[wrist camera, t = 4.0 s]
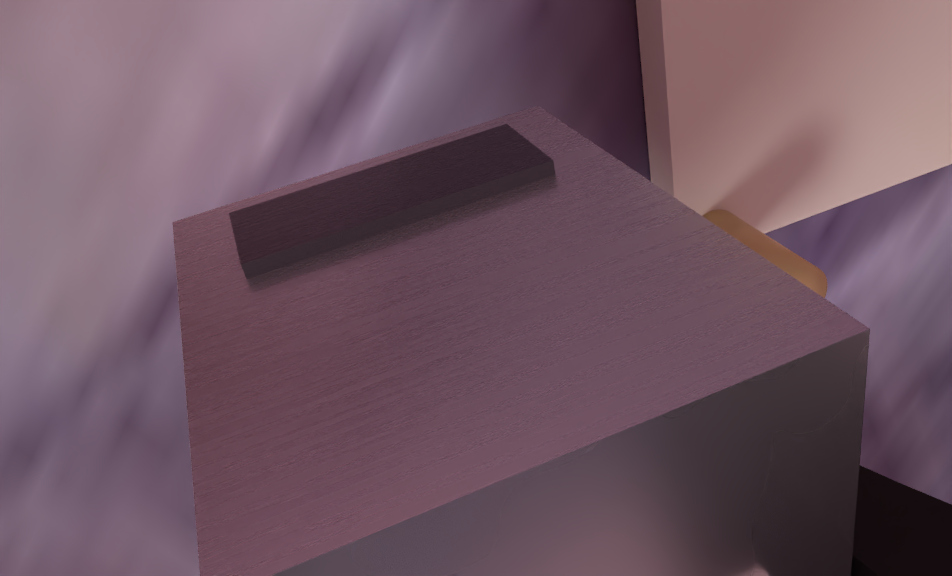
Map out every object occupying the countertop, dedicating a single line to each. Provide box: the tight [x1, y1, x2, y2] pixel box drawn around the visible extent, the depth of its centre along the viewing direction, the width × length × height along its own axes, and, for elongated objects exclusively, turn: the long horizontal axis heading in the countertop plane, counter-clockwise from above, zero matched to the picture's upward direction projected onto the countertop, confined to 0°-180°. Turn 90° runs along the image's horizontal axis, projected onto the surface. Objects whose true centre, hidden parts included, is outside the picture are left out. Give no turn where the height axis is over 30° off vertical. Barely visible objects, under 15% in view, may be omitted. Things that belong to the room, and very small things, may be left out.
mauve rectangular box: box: [173, 106, 870, 576], centre depth 9 cm, size 8×4×5 cm, turn 11°
